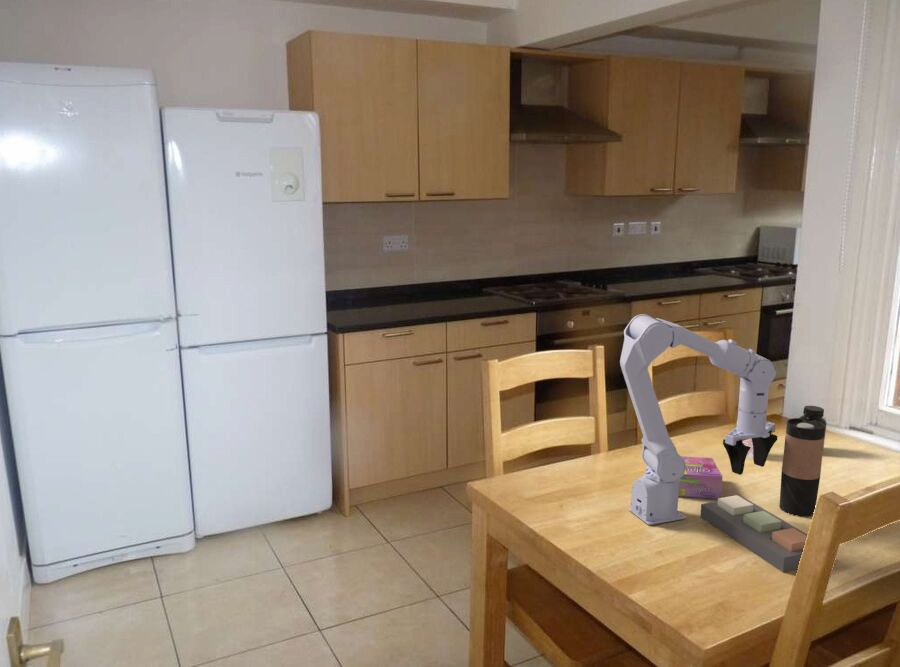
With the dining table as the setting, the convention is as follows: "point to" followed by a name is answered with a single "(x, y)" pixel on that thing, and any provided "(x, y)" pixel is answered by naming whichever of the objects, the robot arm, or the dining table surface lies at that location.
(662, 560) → the dining table surface
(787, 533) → the terracotta button
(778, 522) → the sage button
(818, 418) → the supplement bottle
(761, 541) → the console
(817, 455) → the travel mug
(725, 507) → the cream button
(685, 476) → the box
